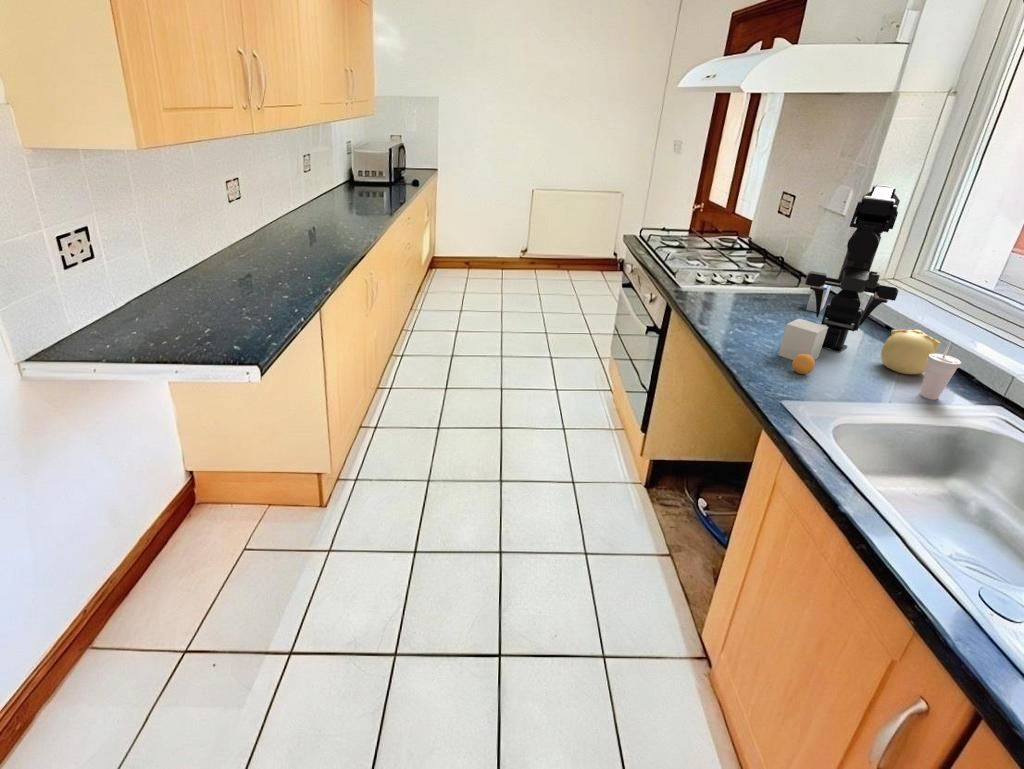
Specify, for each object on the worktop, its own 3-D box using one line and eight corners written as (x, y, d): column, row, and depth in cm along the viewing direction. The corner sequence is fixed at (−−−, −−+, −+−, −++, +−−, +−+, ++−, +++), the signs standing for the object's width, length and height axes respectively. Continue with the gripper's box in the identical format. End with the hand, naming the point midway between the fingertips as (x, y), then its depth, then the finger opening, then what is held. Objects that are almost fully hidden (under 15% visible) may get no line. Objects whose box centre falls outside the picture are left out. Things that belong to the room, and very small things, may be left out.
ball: (794, 367, 146) (800, 349, 144) (814, 374, 143) (820, 355, 140) (786, 372, 143) (792, 353, 140) (806, 379, 139) (813, 360, 137)
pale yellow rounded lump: (931, 371, 150) (948, 332, 145) (921, 383, 142) (938, 343, 137) (883, 357, 157) (897, 319, 152) (870, 368, 149) (885, 329, 144)
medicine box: (810, 304, 198) (817, 280, 194) (824, 307, 196) (832, 283, 192) (805, 309, 192) (813, 284, 188) (819, 313, 190) (828, 287, 186)
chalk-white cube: (789, 348, 158) (798, 318, 154) (818, 357, 153) (828, 326, 149) (777, 355, 153) (786, 324, 149) (807, 364, 148) (817, 332, 144)
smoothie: (932, 390, 138) (955, 336, 132) (951, 402, 133) (976, 347, 126) (906, 389, 138) (929, 335, 132) (925, 401, 132) (949, 345, 126)
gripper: (816, 251, 127) (795, 318, 133) (912, 266, 120) (886, 337, 126) (815, 247, 137) (796, 310, 143) (905, 261, 130) (880, 327, 135)
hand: (838, 320), depth 136 cm, fingers open, 9 cm apart
